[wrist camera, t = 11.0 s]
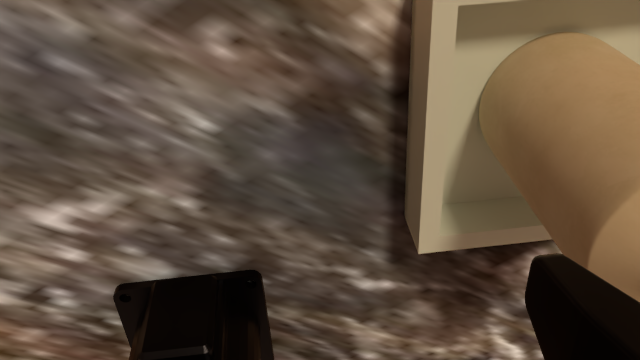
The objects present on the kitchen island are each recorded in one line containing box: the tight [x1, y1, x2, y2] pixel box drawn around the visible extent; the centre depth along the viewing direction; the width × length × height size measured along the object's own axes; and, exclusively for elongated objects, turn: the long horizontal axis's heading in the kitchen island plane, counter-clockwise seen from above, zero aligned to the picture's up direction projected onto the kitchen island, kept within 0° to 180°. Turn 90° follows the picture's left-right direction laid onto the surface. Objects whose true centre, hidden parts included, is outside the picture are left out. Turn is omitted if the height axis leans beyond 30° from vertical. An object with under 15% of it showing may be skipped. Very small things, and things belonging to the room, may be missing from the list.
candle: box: [479, 32, 640, 302], centre depth 17 cm, size 6×6×10 cm
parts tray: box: [404, 0, 640, 254], centre depth 21 cm, size 11×11×2 cm
